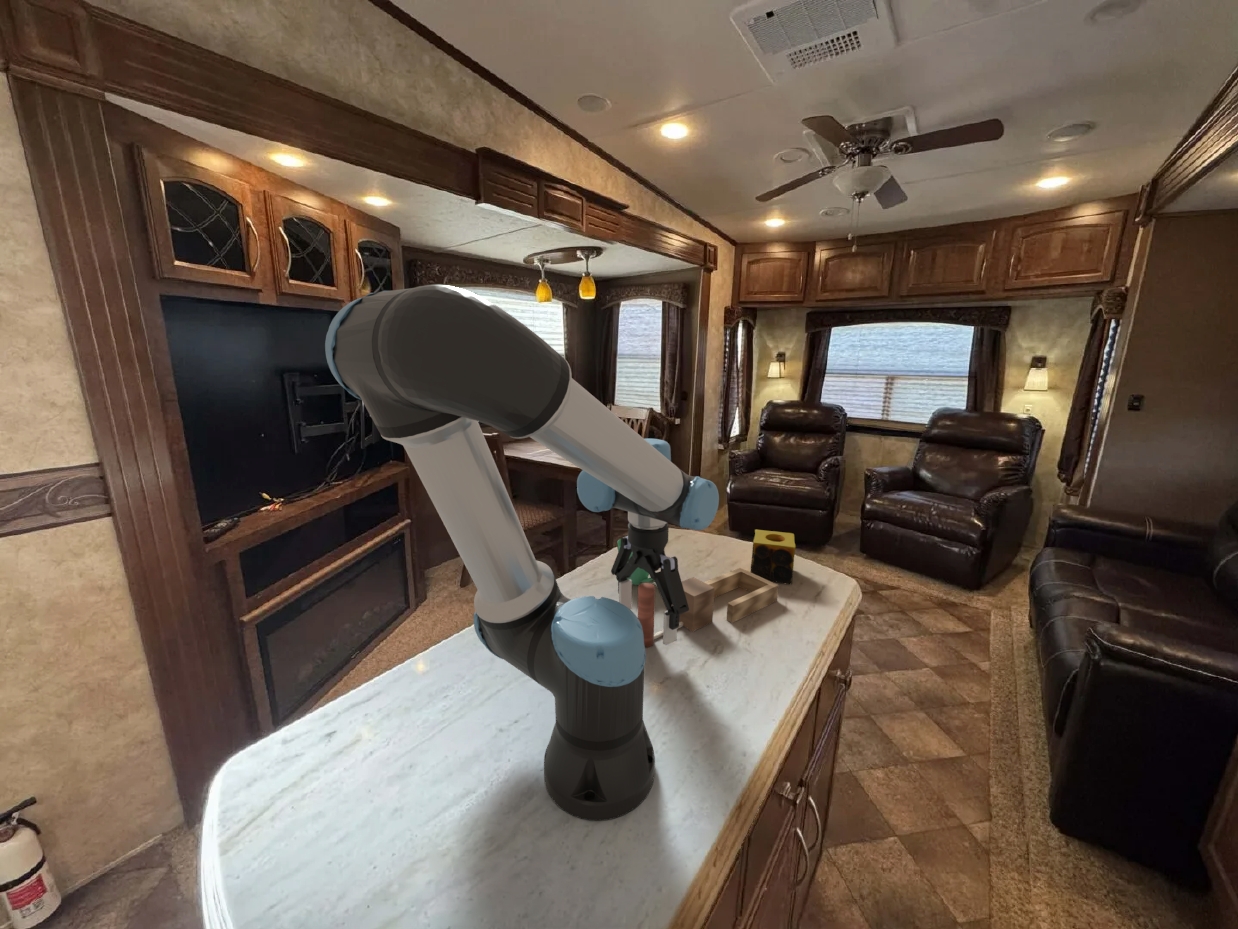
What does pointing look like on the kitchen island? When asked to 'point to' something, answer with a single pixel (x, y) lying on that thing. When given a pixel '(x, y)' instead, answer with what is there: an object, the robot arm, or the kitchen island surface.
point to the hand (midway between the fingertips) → (646, 625)
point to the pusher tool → (695, 618)
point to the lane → (749, 603)
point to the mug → (637, 572)
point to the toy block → (773, 556)
